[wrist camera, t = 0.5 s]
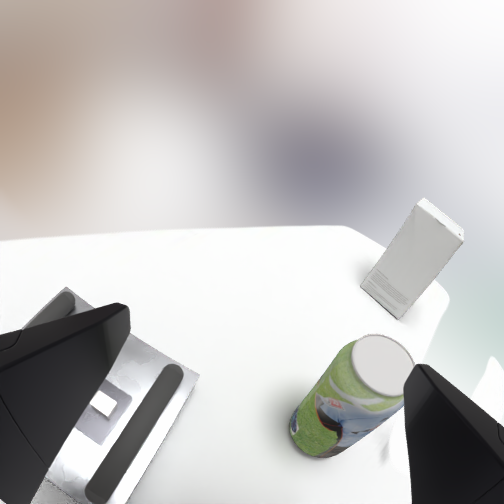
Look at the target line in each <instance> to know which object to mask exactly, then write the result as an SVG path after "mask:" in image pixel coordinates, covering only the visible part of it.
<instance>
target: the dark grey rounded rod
mask: <svg viewBox="0 0 504 504" xmlns="http://www.w3.org/2000/svg"><path fill="white" fill-rule="evenodd" d="M183 376H184V373H183V370H182V368H181V367H180V366H178V365H176V364H168V365H166V366H165V367H164V368H163V370H162V371H161V373H160V374H159V376H158V377H157V379H156V380H155V382H154V383H153V385H152V386H151V388H150V389H149V391H148V392H147V394H146V395H145V397H144V398H143V400H142V401H141V403H140V404H139V406H138V407H137V409H136V410H135V412H134V413H133V415H132V416H131V418H130V419H129V421H128V423H127V424H126V426H125V427H124V429H123V430H122V432H121V433H120V435H119V436H118V438H117V439H116V441H115V442H114V444H113V445H112V447H111V448H110V450H109V451H108V453H107V454H106V456H105V457H104V459H103V461H102V462H101V464H100V465H99V467H98V468H97V470H96V471H95V473H94V474H93V476H92V477H91V479H90V481H89V482H88V484H87V485H86V487H85V489H84V493H85V496H86V498H87V499H88V500H89V501H90V502H91V503H93V504H105V503H107V502H108V500H109V499H110V497H111V495H112V494H113V492H114V490H115V489H116V487H117V486H118V484H119V482H120V481H121V479H122V478H123V476H124V474H125V473H126V471H127V469H128V468H129V466H130V465H131V463H132V461H133V460H134V458H135V456H136V455H137V453H138V452H139V450H140V448H141V447H142V445H143V443H144V442H145V440H146V439H147V437H148V435H149V434H150V432H151V430H152V429H153V427H154V425H155V424H156V422H157V421H158V419H159V417H160V416H161V414H162V412H163V411H164V409H165V407H166V406H167V404H168V403H169V401H170V399H171V398H172V396H173V394H174V393H175V391H176V389H177V388H178V386H179V384H180V383H181V381H182V379H183Z"/></svg>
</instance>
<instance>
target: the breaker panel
mask: <svg viewBox="0 0 504 504" xmlns="http://www.w3.org/2000/svg"><path fill="white" fill-rule="evenodd" d="M65 291H67V292H70V293H72V294H73V295H74V297H75V306H74V307H73V309H72V310H71V311H70V312H69V313H68V314H67V315H66V316H65V317H67V316H71V315H74V314H78V313H81V312H85V311H88V310H92V309H95V308H94V307H92V306H91V305H89V304H88V303H87V302H85V301H84V300H83V299H82V298H80V297H79V296H78V295H76V294H75V293H74V292H72V291H71V290H70V289H69V288H67V287H65V288H64V289H63V290H62V291H60V292H59V293H58V294H57V295H56V296H55V297H54V298H53V299H52V300H51V301H50V302H49V303H48V304H46V305H45V306H44V307H43V308H42V309H41V310H40V311H39V312H38V313H37V314H36V315H35V316H34V317H33V318H32V319H31V320H30V321H29V322H28V323H27V324H26V325H25V326H24V327H23V328H22V330H23V329H24V328H25V327H26V326H27V325H28V324H29V323H30V322H31V321H32V320H33V319H34V318H35V317H36V316H38V315H39V314H40V313H41V312H42V311H43V310H44V309H45V308H46V307H47V306H48V305H49V304H50V303H51V302H52V301H53V300H54V299H55V298H56V297H57V296H59V295H60V294H61V293H62V292H65ZM168 364H176V365H178V366H180V367H181V368H182V370H183V373H184V376H183V379H182V381H181V383H180V384H179V386H178V388H177V389H176V391H175V393H174V394H173V396H172V398H171V399H170V401H169V403H168V404H167V406H166V407H165V409H164V411H163V412H162V414H161V416H160V417H159V419H158V421H157V422H156V424H155V425H154V427H153V429H152V430H151V432H150V434H149V435H148V437H147V439H146V440H145V442H144V443H143V445H142V447H141V448H140V450H139V452H138V453H137V455H136V456H135V458H134V460H133V461H132V463H131V465H130V466H129V468H128V469H127V471H126V473H125V474H124V476H123V478H122V479H121V481H120V482H119V484H118V486H117V487H116V489H115V490H114V492H113V494H112V495H111V497H110V499H109V500H108V502H107V503H105V504H126V502H127V501H128V499H129V497H130V496H131V494H132V492H133V491H134V489H135V487H136V486H137V484H138V482H139V480H140V479H141V477H142V475H143V474H144V472H145V470H146V469H147V467H148V465H149V464H150V462H151V460H152V459H153V457H154V455H155V453H156V452H157V450H158V448H159V447H160V445H161V443H162V441H163V440H164V438H165V436H166V435H167V433H168V431H169V429H170V428H171V426H172V424H173V423H174V421H175V419H176V417H177V416H178V414H179V412H180V410H181V409H182V407H183V405H184V403H185V402H186V400H187V398H188V396H189V395H190V393H191V391H192V389H193V388H194V386H195V384H196V382H197V380H198V378H199V376H200V375H199V374H198V373H196V372H194V371H192V370H190V369H189V368H187V367H185V366H183V365H181V364H180V363H178V362H176V361H174V360H173V359H171V358H169V357H168V356H166V355H164V354H163V353H161V352H159V351H158V350H156V349H154V348H153V347H151V346H150V345H148V344H146V343H145V342H143V341H142V340H140V339H138V338H137V337H135V336H134V335H132V334H131V333H130V334H129V336H128V338H127V340H126V342H125V344H124V345H123V347H122V349H121V351H120V353H119V355H118V357H117V359H116V361H115V363H114V365H113V367H112V369H111V370H110V372H109V374H108V375H107V377H106V378H105V380H104V381H103V383H102V384H101V386H100V387H99V389H98V390H97V392H96V393H95V395H94V397H93V398H92V400H91V401H90V403H89V404H88V406H87V407H86V409H85V411H84V412H83V414H82V415H81V417H80V418H79V420H78V422H77V423H76V425H75V427H74V428H73V430H72V431H71V433H70V435H69V436H68V438H67V440H66V441H65V443H64V444H63V446H62V448H61V450H60V451H59V453H58V455H57V456H56V458H55V460H54V461H53V463H52V465H51V467H50V468H48V469H49V470H48V472H47V474H46V476H45V477H46V478H47V479H48V480H50V481H51V482H52V483H53V484H55V485H56V486H57V487H58V488H60V489H61V490H62V491H64V492H65V493H66V494H68V495H69V496H71V497H72V498H73V499H75V500H76V501H78V502H79V503H80V504H93V503H91V502H90V501H89V500H88V499H87V498H86V496H85V493H84V489H85V487H86V485H87V484H88V482H89V481H90V479H91V477H92V476H93V474H94V473H95V471H96V470H97V468H98V467H99V465H100V464H101V462H102V461H103V459H104V457H105V456H106V454H107V453H108V451H109V450H110V448H111V447H112V445H113V444H114V442H115V441H116V439H117V438H118V436H119V435H120V433H121V432H122V430H123V429H124V427H125V426H126V424H127V423H128V421H129V419H130V418H131V416H132V415H133V413H134V412H135V410H136V409H137V407H138V406H139V404H140V403H141V401H142V400H143V398H144V397H145V395H146V394H147V392H148V391H149V389H150V388H151V386H152V385H153V383H154V382H155V380H156V379H157V377H158V376H159V374H160V373H161V371H162V370H163V368H164V367H165V366H166V365H168Z"/></svg>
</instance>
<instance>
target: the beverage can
mask: <svg viewBox="0 0 504 504" xmlns="http://www.w3.org/2000/svg"><path fill="white" fill-rule="evenodd" d="M414 366H415V363H414V361H413V358H412V357H411V355H410V353H409V352H408V351H407V350H406V349H405V348H404V347H403V346H402V345H401V344H400V343H399V342H397V341H396V340H394V339H392V338H390V337H388V336H385V335H381V334H368V335H365V336H363V337H361V338H360V339H358V340H355V341H353V342H350V343H349V344H347V345H345V346H344V347H343V348H342V349H341V350H340V351H339V353H338V354H337V356H336V357H335V358H334V360H333V361H332V363H331V364H330V365H329V367H328V368H327V370H326V371H325V372H324V374H323V375H322V376H321V378H320V379H319V381H318V382H317V383H316V384H315V386H314V387H313V388H312V390H311V391H310V392H309V394H308V395H307V396H306V397H305V399H304V400H303V401H302V403H301V404H300V405H299V406H298V407H297V409H296V410H295V411H294V413H293V415H292V417H291V420H290V433H291V436H292V438H293V440H294V442H295V444H296V445H297V446H298V447H299V448H300V449H301V450H302V451H304V452H305V453H307V454H309V455H311V456H314V457H319V458H327V457H332V456H335V455H337V454H339V453H341V452H342V451H344V450H346V449H347V448H349V447H350V446H352V445H353V444H354V443H356V442H357V441H359V440H360V439H362V438H363V437H365V436H366V435H367V434H369V433H370V432H371V431H373V430H374V429H376V428H377V427H378V426H380V425H381V424H382V423H383V422H385V421H386V420H387V419H389V418H390V417H391V416H392V415H394V414H395V413H396V412H397V411H398V410H400V409H401V408H402V407H403V406H404V396H403V386H404V383H405V381H406V380H407V378H408V376H409V374H410V373H411V371H412V369H413V367H414Z"/></svg>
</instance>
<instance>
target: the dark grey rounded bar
mask: <svg viewBox="0 0 504 504" xmlns="http://www.w3.org/2000/svg"><path fill="white" fill-rule="evenodd" d="M74 306H75V297H74V295H73V294H72V293H70V292H67V291H65V292H62V293H61V294H60V295H59V296H57V297H56V298H55V299H54V300H53V301H52V302H51V303H50V304H49V305H48V306H47V307H46V308H45V309H44V310H43V311H42V312H41V313H40V314H39V315H38V316H36V317H35V318H34V319H33V320H32V321H31V322H30V323H29V324H28V325H27V326H26V327H25V328H28V327H31V326H35V325H39V324H42V323H46V322H49V321H53V320H57V319H60V318H64V317H65V316H66V315H67V314H68V313H69V312H70V311H71V310H72V309H73V307H74Z"/></svg>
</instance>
